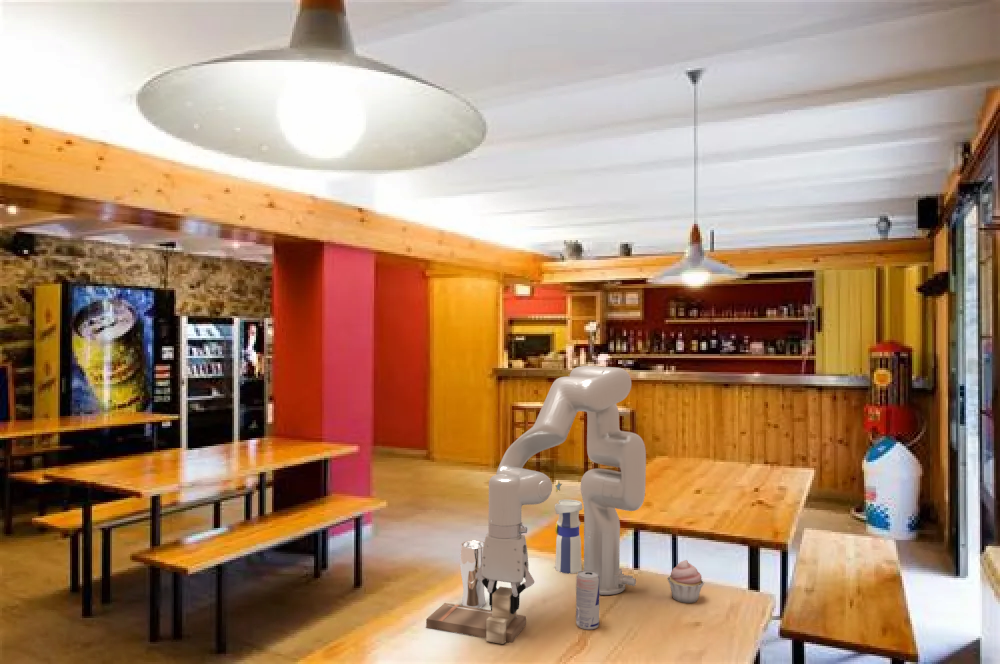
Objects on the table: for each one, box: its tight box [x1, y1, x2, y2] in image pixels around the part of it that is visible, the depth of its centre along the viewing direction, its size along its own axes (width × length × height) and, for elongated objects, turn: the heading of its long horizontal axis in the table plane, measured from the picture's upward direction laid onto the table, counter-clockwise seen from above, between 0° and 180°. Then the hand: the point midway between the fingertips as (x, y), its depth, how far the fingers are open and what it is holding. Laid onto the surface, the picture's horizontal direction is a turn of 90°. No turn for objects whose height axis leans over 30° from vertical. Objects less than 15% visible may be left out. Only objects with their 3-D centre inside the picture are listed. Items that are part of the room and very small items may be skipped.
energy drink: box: [575, 569, 600, 631], centre depth 158 cm, size 5×5×12 cm
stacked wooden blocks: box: [485, 586, 517, 645], centre depth 153 cm, size 4×11×9 cm, turn 160°
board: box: [425, 602, 527, 643], centre depth 157 cm, size 21×10×2 cm, turn 69°
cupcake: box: [667, 559, 705, 604], centre depth 174 cm, size 9×9×10 cm
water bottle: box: [554, 480, 584, 575], centre depth 195 cm, size 8×9×25 cm
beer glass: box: [459, 539, 487, 609], centre depth 170 cm, size 7×7×15 cm
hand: (504, 609), depth 153 cm, fingers closed on stacked wooden blocks, 4 cm apart
